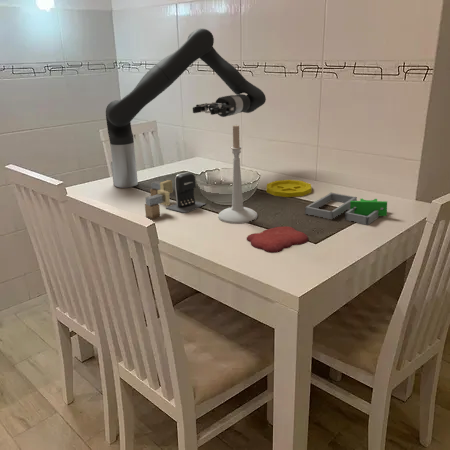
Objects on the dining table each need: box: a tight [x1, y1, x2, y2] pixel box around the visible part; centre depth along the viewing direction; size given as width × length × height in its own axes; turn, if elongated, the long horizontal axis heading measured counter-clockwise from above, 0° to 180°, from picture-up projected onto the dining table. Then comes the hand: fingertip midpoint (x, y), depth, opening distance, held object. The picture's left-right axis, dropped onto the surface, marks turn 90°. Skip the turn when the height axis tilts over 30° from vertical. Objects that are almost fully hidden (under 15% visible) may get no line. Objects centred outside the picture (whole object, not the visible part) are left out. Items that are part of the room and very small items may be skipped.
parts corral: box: [304, 192, 384, 226], centre depth 157 cm, size 21×19×2 cm
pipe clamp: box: [349, 198, 388, 217], centre depth 153 cm, size 11×4×5 cm, turn 74°
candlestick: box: [217, 124, 258, 225], centre depth 151 cm, size 13×13×30 cm
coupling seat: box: [165, 200, 207, 214], centre depth 167 cm, size 9×11×1 cm
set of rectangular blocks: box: [144, 179, 173, 220], centre depth 166 cm, size 8×23×8 cm, turn 2°
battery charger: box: [173, 171, 197, 207], centre depth 165 cm, size 7×4×11 cm, turn 128°
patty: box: [246, 226, 309, 254], centre depth 138 cm, size 18×14×2 cm
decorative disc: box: [265, 179, 313, 198], centre depth 182 cm, size 17×18×2 cm
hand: (202, 111), depth 174 cm, fingers open, 8 cm apart
